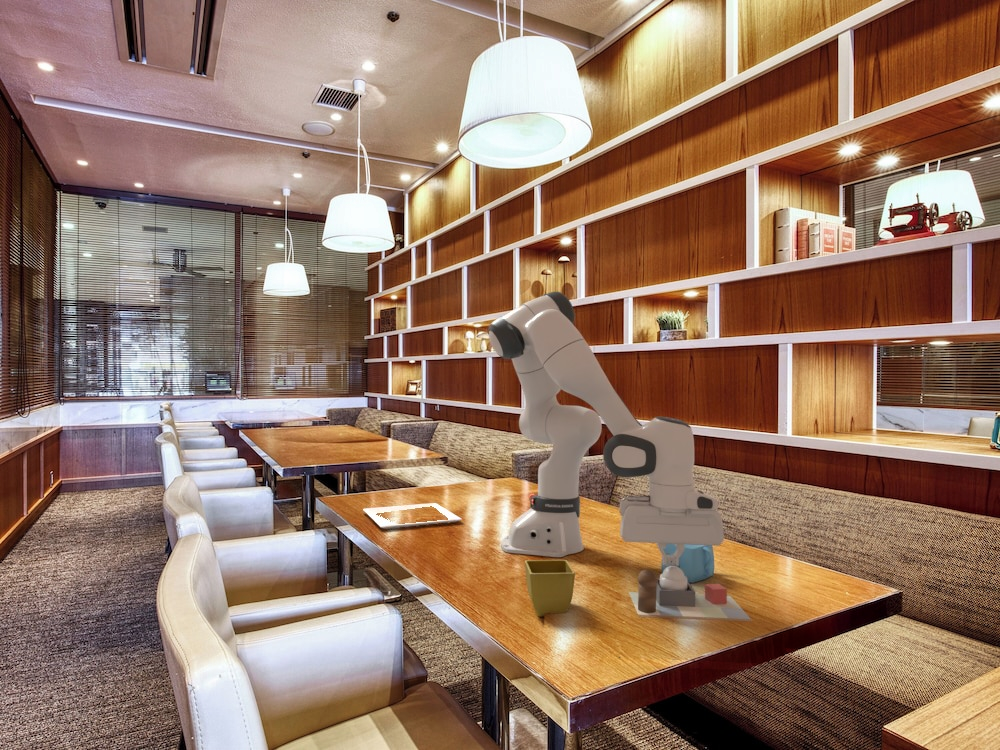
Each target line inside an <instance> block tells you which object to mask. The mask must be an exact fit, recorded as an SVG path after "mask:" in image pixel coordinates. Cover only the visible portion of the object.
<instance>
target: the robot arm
mask: <svg viewBox="0 0 1000 750" xmlns="http://www.w3.org/2000/svg"><path fill="white" fill-rule="evenodd" d="M575 319H576V313H575V310H574V307H573V304H572V302H571V301H570V300H569V298H568V297H567V296H566V295H565V294H563V293H562V292H561V291H557V290H555V291H550V292H547V293H544V294H543V295H542V296H538V297H536V298H533V299H531V300H529V301H526V302H524V303H521V304H520V305H519V306H518V307H515V308H514V309H512V310H511V311H509V312H507V313H506V314H504V315H503V316H499V317H497V318H496V319H495V320H493V321H492V322H491V323H490V324H489V326H488V330H487V333H488V340H489V343H490V345H491V347H492V349H493V350H494V352H495V353H496V354H497V355H498V356H499V357H500V358H502V359H505V360H511V361H512V365H513V367H514V370H515V373H516V375H517V378H518V381H519V382H520V385H521V389H522V391H523V394H524V399H525V400H524V401H525V404H524V405H525V407H524V409H523V410H522V412H521V413H520V416H519V419H518V427H519V430H520V433H521V435H522V436H523V437H524V438H526V439H528V440H530V441H533V442H535V443H538V444H546V445H547V444H548V445H552V451H551V453H550V455H549V457H548V458H547V459H544V461H542V462H541V464H540V465H539V466H538V469H537V494H535V493H530V495H529V496H528V500H529V504H530V506H529V507H530V508H529V509H528V510H526V511H525V512H523V513H522V514H521V515H519V516H518V517H517V518H516V519H514V520H513V522H512V523H511V526H510V529H509V535H508V536H505V537H503V539H502V540H501V545H500V548H501V550H503V552H506V553H509V554H521V555H532V556H541V557H542V556H543V557H553V558H562V557H566V556H567V555H571V554H572V555H573V554H576V553H579V552H580V553H581V552H582V551H583V550H584V549H585V548H584V544H583V539H582V535H581V529H580V519H579V518H580V515H581V499H580V498H581V497H580V495H579V484H580V483H579V482H580V469H581V466H582V465H581V464H582V462H583V459H584V457H585V455H586V453H587V451H588V450H589V449H590V448H591V447H592V446H593V445H594V444H596V442H597V441H598V440H599V438H600V436H601V434H602V430H603V429H602V422H603V423H604V424H605V426H606V427H607V429H608V430H609V431H610V433H611V434H612V435H613V436H612V437H610V438H608V440H607V441H606V443H605V444H604V447H603V451H602V457H603V462H604V465H605V466H606V468H607V470H608V471H609V472H611V473H612V474H613V475H615V476H617V477H620V478H623V479H624V478H626V479H632V478H635V477H644V476H646V477H648V484H649V485H648V495H632V494H630V495H626V497H624V498H621V500H620V501H619V509H618V510H619V514H620V516H621V520H620V529H619V534H620V537H621V538H622V540H623V541H624V542H626V543H645V544H646V543H647V544H648V543H649V544H656V546H657V548H658V550H659V552H660V554H661V555H662V556H661V563H662V562H663V565H671V566H678V565H679V557H680V556H681V554H682V553H683V551H684V547H685V544H690V545H712V546H715V547H717V546H719V547H720V546H721V545H722V543H723V542H724V538H725V536H724V523H723V518H722V516H721V514H720V512H719V511H718V508H719V501H718V499H717V498H716V497H714V495H713V496H712V495H711V494H709V493H706V492H703V490H702V491H701V490H698V489H695V480H694V477H693V469H694V465H695V439H694V433H693V429H692V427H691V425H690V424H688V422H686V421H685V420H681V419H678V418H673V417H667V416H655V417H654V418H652V419H651V420H650V421H648V422H646V423H644V424H641V422H639V421H638V419H636V417H635V415H634V414H633V412H631V411H630V409H629V407H628V406H627V405H626V403H625V402H624V401H623V399H622V398H621V396H620V395H619V394H618V393H617V390H616V389H615V388H614V387H613V386H612V384H611V383H610V381H609V379H608V377H607V375H606V373H605V372H604V370H603V369H602V366H601V365H600V363H599V361H598V359H597V357H596V355H595V354H594V352H593V351H592V349H591V347H590V345H589V344H588V342H587V341H586V339H585V338H584V336H583V335H582V333H581V332H580V331H579V330H578V328H577V327H576V326H575V325H574V323H575ZM561 390H562V391H563V392H566V393H568V394H570V395H571V396H575V397H577V398H579V399H581V400H582V401H584V402H585V403H587V404H588V405H590V406H591V407H592V408H593V409H594V410H593V409H591V408H587V407H584V406H580V405H566V404H563V405H562V404H560V403H559V402H558V399H557V395H558V394H559V393H560V392H561ZM666 544H675V546H676V547H677V550H676V552H675V553H674V555H666V554H665V552H664V550H663V549H665V548H666Z"/></svg>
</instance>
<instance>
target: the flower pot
mask: <svg viewBox="0 0 1000 750" xmlns="http://www.w3.org/2000/svg"><path fill="white" fill-rule="evenodd" d="M524 569H525V577H526V578H525V580H526V587H527V591H528V595H529V598H530V600H531V603H532V606H533V609H534V611H535V613H536V615H537V616H538V617H545V614H565V613H567V611H568V609H569V608H570V605H571V603H572V599H573V596H574V594H573V593H574V588H575V587H574V586H575V579H576V572H575V570H574V569H573V567H571V565H570V563H569V562H568V560H567V559H535V560H534V559H533V560H531V559H530V560H529V559H528V560H524Z"/></svg>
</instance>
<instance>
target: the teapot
mask: <svg viewBox="0 0 1000 750" xmlns="http://www.w3.org/2000/svg"><path fill="white" fill-rule="evenodd" d="M663 550H664V552H665V554H666V555H674V553H675V552H676V550H677V547H676V546H675V544H666V548H665V549H663ZM669 566H671V565H663V562H662V561H661V571H662V572H661V574H663V571H664V570H665V569H666V568H667V567H669ZM676 567H679V568H680V569H681V570H682V571H683V573H684V576H686V577H687V581H688V582H689V584H693V583H697V582H701V581H704V580H706V579H708V578H710V577H713V575H714V573H715V554H714V547H713V545H690V544H685V547H684V551H683V553H682V554H681V556H680V557H679V565H678V566H676Z"/></svg>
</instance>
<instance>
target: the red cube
mask: <svg viewBox="0 0 1000 750" xmlns="http://www.w3.org/2000/svg"><path fill="white" fill-rule="evenodd" d="M727 589H728V588H726V587H725V586H723V585H721V584H720V583H709V584H707V583H706V584H705V585H704V590H705V591H704V595H705V599H706V600H707V601H709V602H710V603H712V604H713V605H714V604H727V596H728V595H727V594H728V590H727Z"/></svg>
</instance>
